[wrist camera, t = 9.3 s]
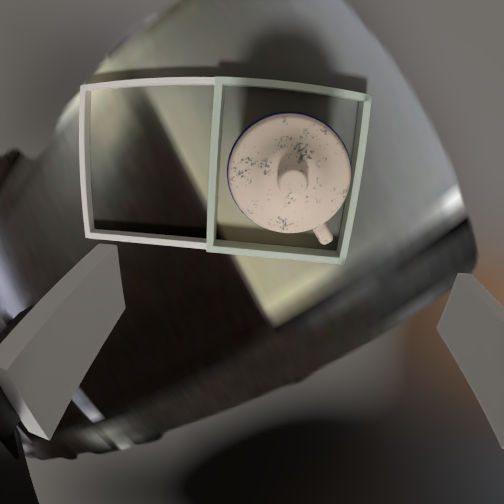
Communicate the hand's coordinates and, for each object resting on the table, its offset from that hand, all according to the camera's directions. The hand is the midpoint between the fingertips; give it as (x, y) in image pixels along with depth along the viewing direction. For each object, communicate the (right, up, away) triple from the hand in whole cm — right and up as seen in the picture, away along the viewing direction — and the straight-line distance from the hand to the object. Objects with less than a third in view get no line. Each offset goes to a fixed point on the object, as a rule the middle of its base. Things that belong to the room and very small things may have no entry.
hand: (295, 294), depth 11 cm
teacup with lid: (+2, +10, +20) cm, 22 cm away
